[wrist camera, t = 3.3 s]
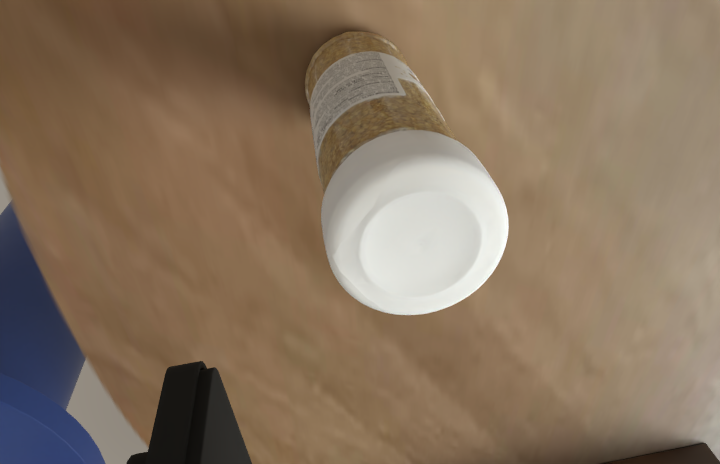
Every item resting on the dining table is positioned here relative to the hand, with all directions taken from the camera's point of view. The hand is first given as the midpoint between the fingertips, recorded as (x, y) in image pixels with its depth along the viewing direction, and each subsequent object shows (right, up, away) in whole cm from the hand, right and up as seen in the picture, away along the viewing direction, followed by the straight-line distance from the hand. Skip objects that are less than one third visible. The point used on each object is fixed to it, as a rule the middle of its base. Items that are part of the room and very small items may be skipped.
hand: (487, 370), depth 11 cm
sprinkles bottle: (-2, +9, +16) cm, 18 cm away
